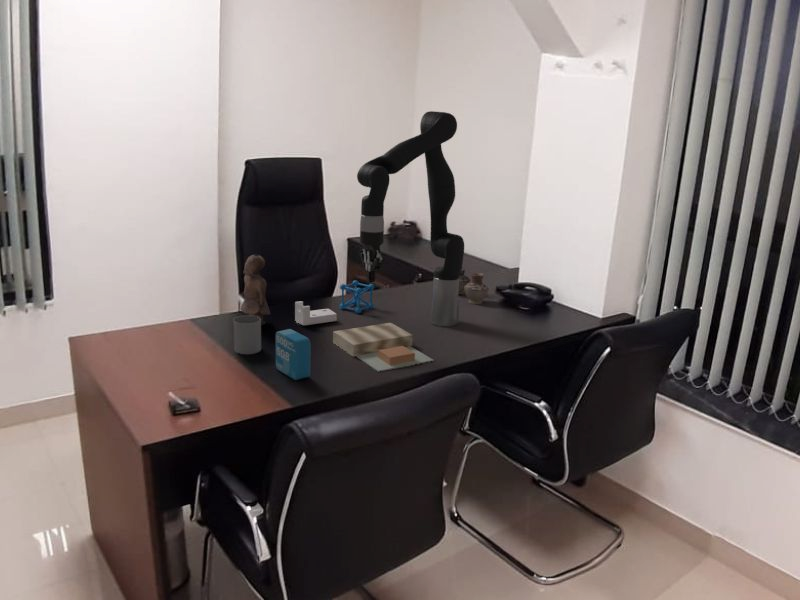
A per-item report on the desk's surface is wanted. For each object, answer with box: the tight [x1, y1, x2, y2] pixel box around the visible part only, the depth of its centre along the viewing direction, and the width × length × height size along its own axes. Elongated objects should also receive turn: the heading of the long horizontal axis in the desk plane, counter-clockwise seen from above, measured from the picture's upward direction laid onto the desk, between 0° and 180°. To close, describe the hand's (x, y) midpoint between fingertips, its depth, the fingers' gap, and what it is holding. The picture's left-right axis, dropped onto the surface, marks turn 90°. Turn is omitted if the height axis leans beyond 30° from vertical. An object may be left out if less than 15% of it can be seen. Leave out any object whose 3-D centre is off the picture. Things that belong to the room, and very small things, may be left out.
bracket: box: [294, 301, 338, 326], centre depth 245 cm, size 13×7×8 cm, turn 121°
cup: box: [232, 314, 262, 355], centre depth 215 cm, size 8×8×10 cm
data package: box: [275, 328, 312, 381], centre depth 198 cm, size 12×4×12 cm, turn 41°
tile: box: [378, 346, 415, 365], centre depth 213 cm, size 9×7×2 cm
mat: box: [356, 346, 435, 373], centre depth 214 cm, size 20×14×1 cm
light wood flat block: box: [332, 322, 414, 357], centre depth 225 cm, size 22×14×4 cm, turn 122°
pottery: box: [458, 267, 489, 305], centre depth 283 cm, size 11×25×12 cm, turn 29°
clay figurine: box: [240, 254, 271, 326], centre depth 237 cm, size 13×10×25 cm
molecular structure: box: [339, 279, 375, 314], centre depth 262 cm, size 10×10×10 cm
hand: (370, 281), depth 222 cm, fingers closed
